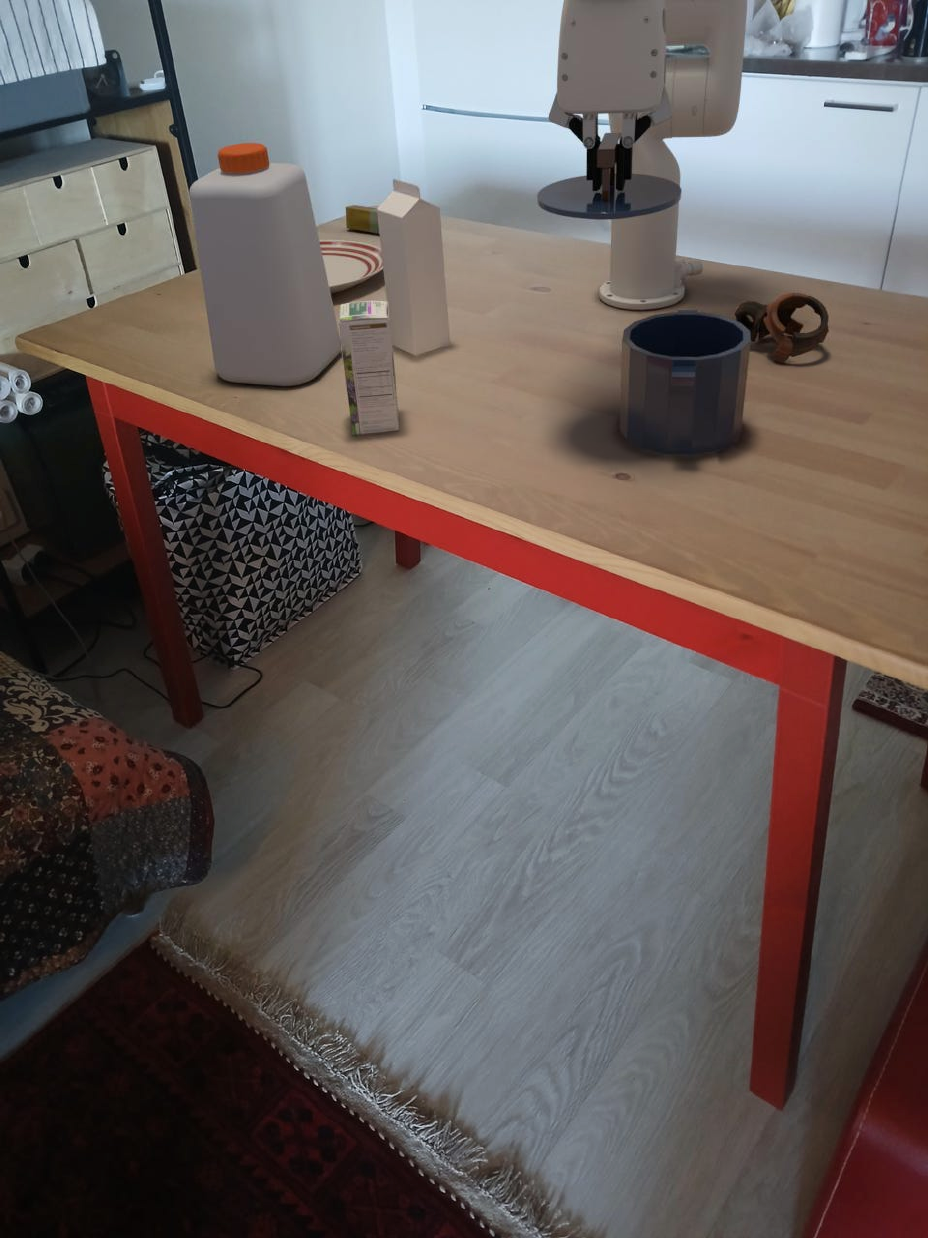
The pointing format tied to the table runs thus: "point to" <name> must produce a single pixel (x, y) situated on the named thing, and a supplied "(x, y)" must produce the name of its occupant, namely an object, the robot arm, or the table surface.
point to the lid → (609, 191)
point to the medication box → (362, 218)
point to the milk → (413, 270)
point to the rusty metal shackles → (784, 324)
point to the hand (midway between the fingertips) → (608, 186)
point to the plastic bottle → (262, 270)
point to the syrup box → (369, 366)
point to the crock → (683, 382)
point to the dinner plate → (349, 262)
